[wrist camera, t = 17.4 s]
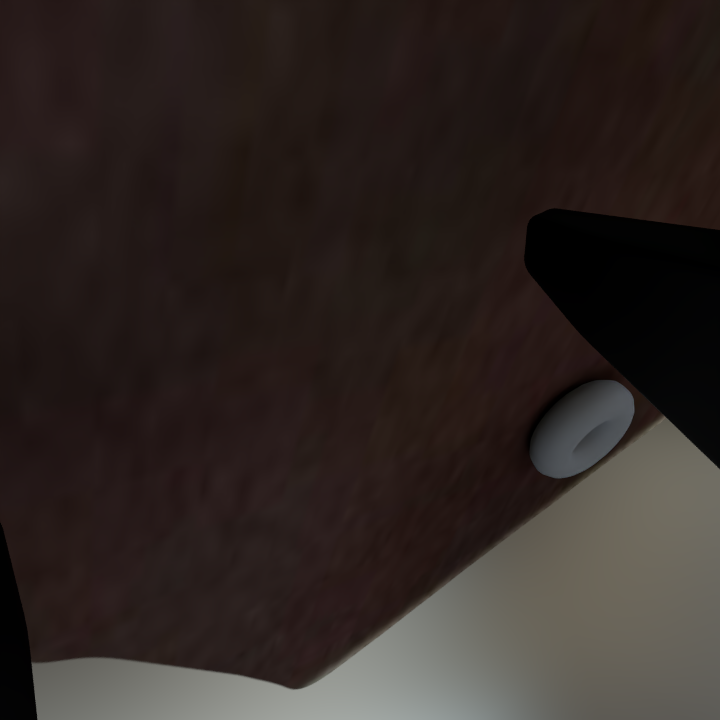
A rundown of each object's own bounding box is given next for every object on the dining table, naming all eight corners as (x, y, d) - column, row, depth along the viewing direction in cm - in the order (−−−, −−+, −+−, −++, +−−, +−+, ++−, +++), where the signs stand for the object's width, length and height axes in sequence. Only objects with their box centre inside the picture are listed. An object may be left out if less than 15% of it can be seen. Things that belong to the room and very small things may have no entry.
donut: (629, 364, 45) (554, 378, 40) (663, 389, 43) (589, 408, 38) (575, 446, 51) (503, 468, 45) (603, 472, 48) (531, 499, 43)
